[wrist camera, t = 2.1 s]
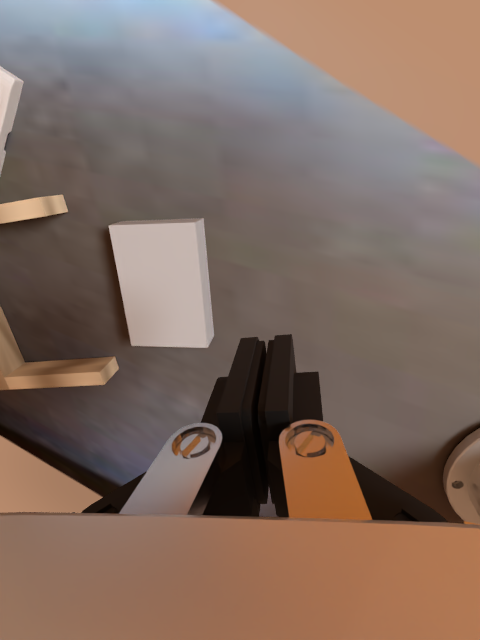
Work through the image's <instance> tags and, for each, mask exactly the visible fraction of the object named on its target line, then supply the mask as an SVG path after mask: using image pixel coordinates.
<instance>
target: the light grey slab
mask: <svg viewBox="0 0 480 640" xmlns="http://www.w3.org/2000/svg"><path fill="white" fill-rule="evenodd" d="M109 231H110V236H111V241H112V246H113V252H114V257H115V262H116V267H117V273H118V278H119V283H120V288H121V293H122V299H123V304H124V309H125V314H126V320H127V325H128V330H129V335H130V341H131V346H160V347H198V348H208V346H209V344H210V342H211V340H212V338H213V337H214V329H213V318H212V307H211V296H210V285H209V274H208V263H207V252H206V241H205V230H204V219H203V218H194V219H167V220H140V221H121V222H118V223H115V224H111V225H109Z"/></svg>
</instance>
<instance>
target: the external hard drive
mask: <svg viewBox="0 0 480 640" xmlns="http://www.w3.org/2000/svg"><path fill="white" fill-rule="evenodd" d="M22 86H23V81H22V80H20V79H19V78H17V77H16V76H14V75H13V74H11V73H10V72H8V71H6V70H5V69H4V68H2V67H1V66H0V174H1V170H2V166H3V162H4V158H5V154H6V151H5V149H4V148H5V143H6V139H7V135H8V133H9V132H11V130H12V126H13V122H14V118H15V114H16V110H17V106H18V102H19V98H20V94H21V90H22Z"/></svg>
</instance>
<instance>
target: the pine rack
mask: <svg viewBox="0 0 480 640" xmlns="http://www.w3.org/2000/svg"><path fill="white" fill-rule="evenodd" d="M65 212H68V209H67V206H66V203H65V200H64V197H63V195H55V196H47V197H39V198H33V199H27V200H22V201H16V202H11V203H5V204H0V224H1V223H7V222H14V221H20V220H26V219H32V218H38V217H44V216H49V215H55V214H60V213H65ZM118 369H119V367H118V364H117V361H116V358H115V356H114V357H100V358H85V359H71V360H56V361H42V362H27V363H25V361H24V359H23V357H22V355H21V352H20V350H19V348H18V345H17V343H16V341H15V338H14V336H13V334H12V331H11V329H10V327H9V324H8V322H7V320H6V317H5V315H4V313H3V311H2V308H1V306H0V390H11V389H30V388H49V387H69V386H88V385H105V384H106V382H107V381H108V380H109V379H110V378H111V377H112V376H113V375H114V374H115V372H116V371H117V370H118Z"/></svg>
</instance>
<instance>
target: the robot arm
mask: <svg viewBox="0 0 480 640" xmlns="http://www.w3.org/2000/svg"><path fill="white" fill-rule="evenodd" d="M443 485H444V490H445V492H446V495H447V497H448V500H449V502H450V504H451V506H452V507H453V509H454V511H455V512H456V513H457V514H458V515H459V516H460V517H461V518H462V519H463V520H464V524H462V523H448V522H447V521H446V519H445V518H443V517H442V516H441V515H440V514H438V513H437V512H436V511H435V510H433V509H432V508H430V507H428V506H427V505H425V504H424V503H422V502H420V501H419V500H417V499H416V498H414V497H412V496H411V495H409V494H408V493H406V492H404V491H403V490H401V489H400V488H398V487H397V486H395V485H393V484H392V483H390V482H389V481H387V480H385V479H384V478H382V477H381V476H379V475H377V474H376V473H374V472H373V471H371V470H370V469H368V468H366V467H365V466H363V465H362V464H360V463H358V462H357V461H355V460H354V459H352V458H350V457H349V456H348V454H347V452H346V449H345V447H344V444H343V441H342V439H341V436H340V434H339V433H338V431H337V430H336V429H335V428H334V427H333V426H331V425H330V424H328V423H325V422H323V415H322V405H321V394H320V384H319V374H318V372H304V373H296V366H295V357H294V348H293V339H292V334H290V335H277V336H275V339H274V340H269V342H268V348H267V354H266V347H265V342H264V341H259V339H258V337H251V338H241V339H240V343H239V346H238V349H237V352H236V355H235V358H234V361H233V364H232V367H231V370H230V373H229V376H228V377H219V378H218V379H217V381H216V384H215V386H214V389H213V392H212V394H211V397H210V399H209V402H208V405H207V407H206V410H205V413H204V415H203V418H202V421H201V423H195V424H191V425H188V426H185V427H183V428H181V429H179V430H178V431H177V432H175V433H174V434H173V435H172V436H171V437H170V438H169V439H168V441H167V442H166V444H165V445H164V447H163V448H162V450H161V451H160V453H159V454H158V456H157V457H156V459H155V460H154V462H153V463H152V465H151V466H150V468H149V469H148V471H147V472H145V473H143V474H142V475H140V476H138V477H137V478H135V479H133V480H132V481H130V482H128V483H127V484H125V485H123V486H122V487H120V488H118V489H117V490H115V491H113V492H112V493H110V494H108V495H106V496H105V497H103V498H102V499H100V500H98V501H97V502H95V503H93V504H92V505H90V506H89V507H87V508H86V509H85V510H83V511H82V513H75V512H73V513H41V512H39V513H38V512H22V513H21V512H17V513H0V640H480V428H479V429H477V430H476V431H474V432H473V433H471V434H470V435H468V436H467V437H466V438H465V439H464V440H463V441H461V442H460V443H459V444H458V445H457V446H456V448H455V449H454V450H453V452H452V453H451V454H450V456H449V458H448V460H447V462H446V465H445V467H444V473H443ZM268 488H270V494H271V500H272V504H275V509H276V514H277V515H278V516H279V517H259V511H260V504H266V503H267V499H268Z"/></svg>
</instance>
